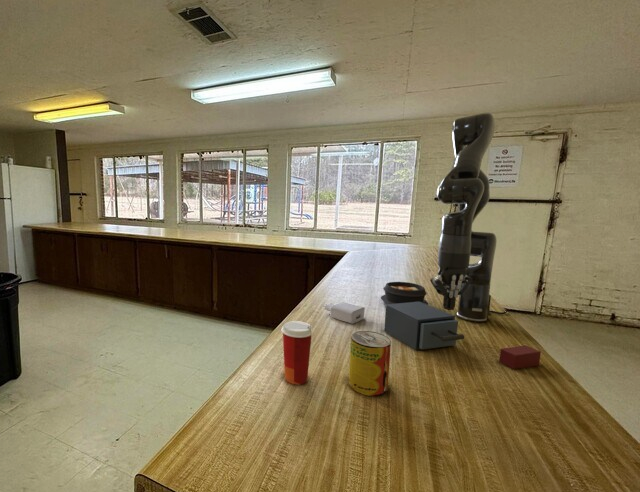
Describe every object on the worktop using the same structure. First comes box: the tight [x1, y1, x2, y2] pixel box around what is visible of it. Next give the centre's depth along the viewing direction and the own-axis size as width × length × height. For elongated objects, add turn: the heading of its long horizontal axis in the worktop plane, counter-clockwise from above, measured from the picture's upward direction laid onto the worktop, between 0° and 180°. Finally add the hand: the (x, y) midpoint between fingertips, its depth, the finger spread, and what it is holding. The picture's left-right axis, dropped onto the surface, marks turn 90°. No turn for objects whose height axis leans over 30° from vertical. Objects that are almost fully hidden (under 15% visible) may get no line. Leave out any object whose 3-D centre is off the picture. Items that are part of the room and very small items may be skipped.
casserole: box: [380, 281, 429, 306], centre depth 138 cm, size 25×19×8 cm
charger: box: [322, 301, 365, 324], centre depth 124 cm, size 5×9×15 cm
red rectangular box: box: [498, 344, 542, 370], centre depth 88 cm, size 9×4×4 cm, turn 104°
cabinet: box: [383, 302, 456, 351], centre depth 104 cm, size 15×14×10 cm
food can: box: [348, 330, 392, 397], centre depth 77 cm, size 9×9×12 cm
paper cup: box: [280, 320, 314, 386], centre depth 80 cm, size 8×8×14 cm
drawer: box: [418, 319, 465, 350], centre depth 100 cm, size 18×12×8 cm
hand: (448, 309), depth 92 cm, fingers closed
